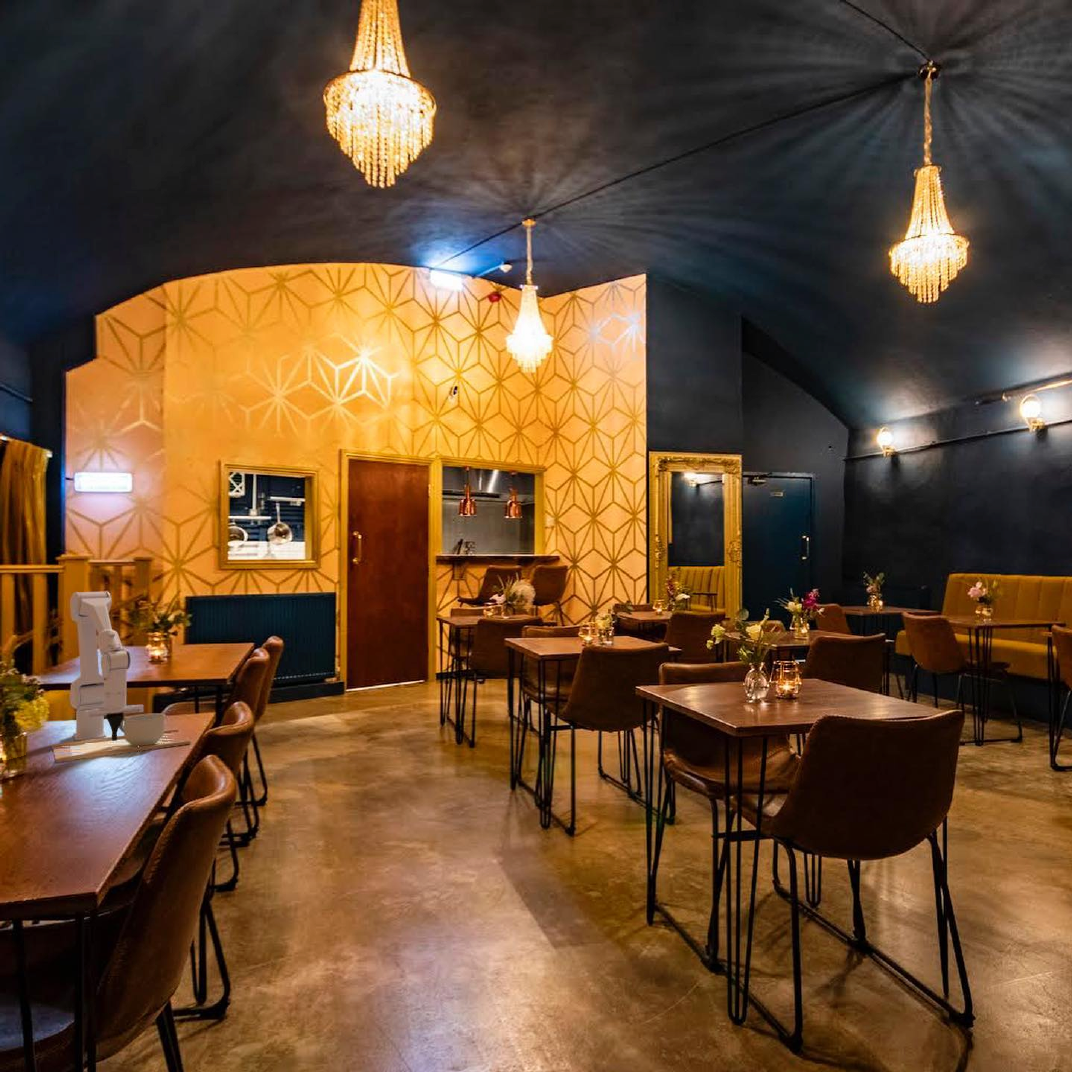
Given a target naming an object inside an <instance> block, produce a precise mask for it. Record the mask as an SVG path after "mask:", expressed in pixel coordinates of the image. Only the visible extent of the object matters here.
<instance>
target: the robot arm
mask: <svg viewBox="0 0 1072 1072" xmlns="http://www.w3.org/2000/svg"><path fill="white" fill-rule="evenodd" d="M112 603H113V601H112V595H111V594H110V592H109V591H108V590H105V591H83V592H81V591H80V592H78V591H75V592H73V594H72V595H71V596H70V600H69V608H70V611H69V612H70V617H71V620H72V621H74V622H76V625H77V635H78V636H77V637H78V638H77V639H78V651H79V652H78V653H79V654H78V655H79V668H80V675H79V677H77V678H76V679H75V680H74V681H72V682H71V683H70V692H69V702H70V705H71V707H72V708H74V709H76V711H75V712H76V714H75V715H76V717H75V718H76V719H75V720H76V721H75V725H76V726H75V727H76V728H75V729H76V731H75V733H73V734H72V736H73V738H74V740H75V741H76V740H78V741H82V740H91V739H99V738H107V734H106V732H105V731H104V726H105V725H104V723H105V722H104V721H105V720H104V719H106V721H107V722H108V724H109V726H110V729H111V737H112V741H117V736H118V730H119V726H120V724H121V722H122V720H123V718H124V717H125V716H124V715H126V714H133V713H134V714H135V713H144V707H145V706H144V705H143V704H130V705H127V684H128V683H127V682H128V681H127V680H128V679H127V678H128V677H127V676H128V675H127V673H128V671H127V670H128V669H130V667H131V663H132V662H131V661H132V658H131V654H130V651H129V650H128V649H126V647H124V646H123V645H122V641H121V639H120V636H119V633H118V632H117V631H116V630H114V629H113V628H112V622H111V619H110V615H109V613H110V609H111V607H112ZM97 633H98V634H97ZM98 649H99V651H100V655H101V657H100V667H101V668H100V667H99V655H98V653H99V652H98ZM100 669H101V673H100V671H99V670H100Z"/></svg>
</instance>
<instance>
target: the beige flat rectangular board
mask: <svg viewBox="0 0 1072 1072" xmlns="http://www.w3.org/2000/svg"><path fill="white" fill-rule="evenodd" d="M171 732H180V731H179V728H174V729H173V728H171V729H165V731H164V735H172V734H165V733H171ZM173 735H174V734H173ZM163 737H165V736H163ZM166 737H168V736H166ZM117 740H125V737H124V734H123V735H117ZM159 740H174V739H159ZM186 740H187V739H186ZM85 743H94V744H85ZM108 743H128V744H108ZM156 743H160V744H155V743H154V744H149V745H140V746H139V747H138V746H136V745H131V744H130V743H129V742H127V741H126V740H125V741H115V742H114V741H112V736H108V737H107V736H106V737H102V738H94V739H86V740H78V741H76V740H75V741H67V742H61V743H60V742H59V743H52V746H51V747H53V748H52V752H53V751H54V752H85V753H54V752H53V755H75V756H54V759H55V763H56V762H57V763H61V762H60V761H64V762H71V761H76V760H75V759H79V760H82V759H81V758H86V759H92V758H99V757H100V756H101V757H106V756H105V755H108V756H115V755H114V754H116V755H121V754H120V753H123V754H127V753H126V752H130V753H135V752H136V753H137V751H138V752H143V750H145V751H150V750H149V749H152V750H158V748H160V749H165V748H164V747H167V748H170V747H169V746H174V747H179V746H178V745H182V746H186V745H185V744H189V745H191V740H190V739H189V740H187V741H180V742H169V741H168V742H162V741H158V742H156ZM161 743H162V744H161ZM163 743H165V744H163ZM62 746H69V747H62ZM70 746H75V747H70ZM76 746H81V747H76ZM82 746H84V747H82ZM85 746H86V747H85ZM87 746H90V747H87ZM91 746H92V747H91ZM94 746H95V747H94ZM101 746H103V747H101ZM105 746H107V747H105ZM108 746H109V747H108ZM111 746H112V747H111ZM53 749H64V750H53ZM65 749H66V750H65ZM67 749H72V750H67ZM73 749H74V750H73ZM75 749H81V750H75ZM82 749H83V750H82ZM89 749H90V750H89ZM91 749H92V750H91Z"/></svg>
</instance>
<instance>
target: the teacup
mask: <svg viewBox="0 0 1072 1072" xmlns="http://www.w3.org/2000/svg"><path fill="white" fill-rule="evenodd" d="M165 727H166V714H164V713H143V714H140V713H139V714H136V715H130V716H124V718H123V720H122V722H121V724H120V726H119V728H118V730H120V731H121V732H122V733H123V735H124V737H125V740H126V741H127V742H129V743H130V744H131V745H136V746H140V745H149V744H154V743H156V742H158V740H159V739H161V738H162V737H163V735H164V731H165V730H166V729H165Z"/></svg>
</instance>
